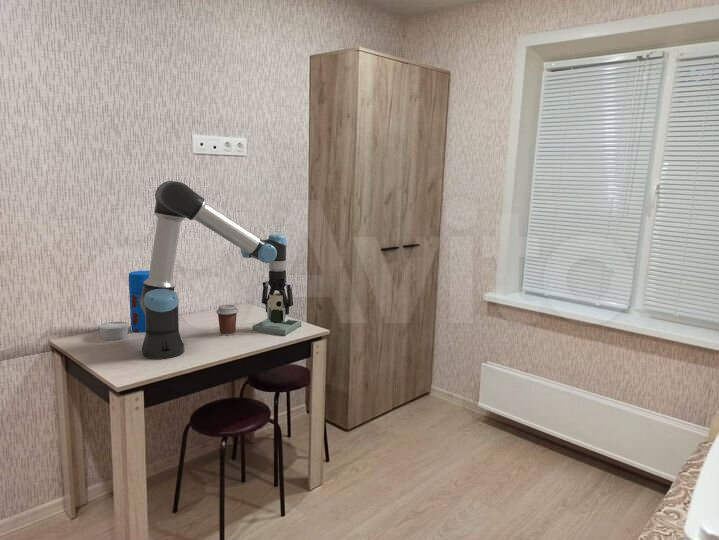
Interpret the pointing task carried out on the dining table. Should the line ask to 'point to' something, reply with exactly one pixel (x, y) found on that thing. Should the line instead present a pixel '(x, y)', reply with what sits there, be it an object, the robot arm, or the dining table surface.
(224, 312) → the coffee cup
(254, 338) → the dining table surface
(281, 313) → the character mug
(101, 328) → the ramekin
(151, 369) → the dining table surface
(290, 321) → the tray
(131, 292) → the thermos
